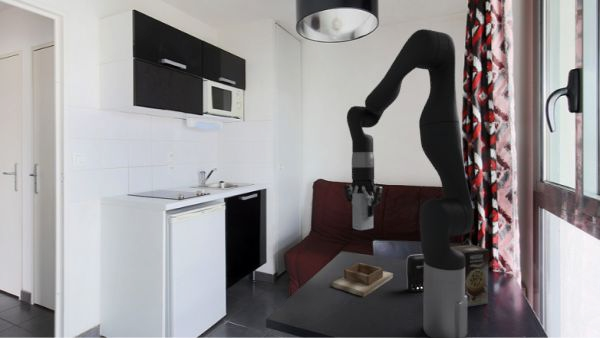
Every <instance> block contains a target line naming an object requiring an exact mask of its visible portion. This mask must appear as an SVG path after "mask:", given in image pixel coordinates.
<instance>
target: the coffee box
mask: <svg viewBox="0 0 600 338" xmlns="http://www.w3.org/2000/svg"><path fill="white" fill-rule="evenodd" d="M450 248H452V249H455V250H458V251H460V252H462V253H463V254H464V256H465V295H466V296H467V308H469V307H475V306H479V305H480V306H481V305H486V304H488V301H489V300H488V299H489V296H488V295H489V294H488V293H489V256H490V255H489V253H490V250H489V249H487V248H485V247H481V246H478V245H474V244H465V245H464V244H463V245H455V246H453V245H452V246H450Z"/></svg>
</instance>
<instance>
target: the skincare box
mask: <svg viewBox="0 0 600 338" xmlns="http://www.w3.org/2000/svg"><path fill="white" fill-rule="evenodd" d="M352 194H353V212H352V228H353V229H354V230H357V231H364V230H371V229H374V215H373V216H372V217H368V206H369V205H368V202H367V200H366V198H365V195H364V194H363V193H354V192H352ZM369 196H371V194H370V195H369Z"/></svg>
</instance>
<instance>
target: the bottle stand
mask: <svg viewBox="0 0 600 338" xmlns="http://www.w3.org/2000/svg"><path fill="white" fill-rule="evenodd" d="M393 278H394V273H392V272H389V271H385V270H384V268H382V267H378V266H375V265H370V264H366V263H361V262H357V263H355V264H353V265H351V266H349V267H347V268H345V269H343V276H342V277H340V278H338V279H336V280H333V281H332V284H331V285H332V286H331V287H333V288H334V289H339V290H342V291H345V292H348V293H350V294H354V295H357V296H360V297H363V298H365V297H366V296H368V295H369V294H370V293H372V292H373V291H375V290H376V289H378V288H379V287H381V286H382V285H384V284H386V283H387V282H389V281H391V280H392V279H393Z"/></svg>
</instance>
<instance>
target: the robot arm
mask: <svg viewBox="0 0 600 338" xmlns="http://www.w3.org/2000/svg"><path fill="white" fill-rule="evenodd" d="M415 69H420V70H427V71H428V75H429V85H430V86H429V87H430V88H429V93H428V97H427V100H426V102H425V104H424V106H423V109H422V111H421V113H420V116H419V121H418V122H419V123H418V124H419V125H418V128H419V136H420V146H421V148H422V152H423V153H424V154H425V156H426V158H427V159H428V161H429V162H430V164H431V165H432V167H433V168H434V170H435V171H436V173H437V175H438V176H439V179H440V182H441V188H442V197H439V198H429V199H427V200H425V201H424V202H423V204H422V205H421V208H420V211H419V230H420V231H419V232H420V233H419V234H420V247H421V251H422V254H423V255H424V291H423V320H422V322H423V332H424V333H425V335H426V336H428V337H430V338H466V337H467V335H468V307H467V296H466V295H465V256H464V254H463V253H462V252H460V251H458V250H455V249H452V248H450V247H451V244H450V243H451V242H450V237H455V236H456V237H457V236H463V235H464V236H465V235H466V234H468V233H470V231H471V230H472V228H473V225H474V219H475V215H474V208H473V202H472V198H471V194H470V190H469V184H468V180H467V176H466V169H465V162H464V155H463V145H462V134H461V132H462V131H461V125H460V117H459V111H458V101H457V100H458V99H457V88H456V46H455V41H454V39H453V37H452V36H450V35H449V34H447V33H445V32H442V31H435V30H432V29H426V28H425V29H424V28H422V29H417V30H416V31H414V32H413V33H412V34H411V35H410V37H408V39H407V40H406V42H404V44H403V46H402V47H401V49H400V50H399V52H398V54H397V56H396V57H395V59H394V60H393V62H392V63H391V65H390V67H389V68H388V70H387V72H386V74H385V75H384V77H383V78H381V81H380V82H378V84H377V85H376V86H375V87H374V88H373V89H372V91H371V92H370V93H369V94H368V95H367V96H366V97H365V100H364V106H363V105H362V106H360V105H354V106H352V107H350V108H349V109H348V111H347V112H346V113H347V115H346V122H347V126H348V129H349V130H348V131H349V134H350V137H351V144H352V147H351V149H352V150H351V153H352V154H351V181H352V182H351V184H345V185H344V191H345V196H346V197H345V198H346V201H347V202H349V203H351V206H352V207H351V208H352V213H353V193H363V194H364V195H365V198H366V200H367V202H368V205H369V206H368V217H372V216H373V217H374V216H375V206H376V205H378V204H380V203H381V198H382V194H383V189H384V187H383V186H382V185H381V186H378V185H376V183H375V155H374V137H373V136H372V135H371V134H367V133H365V132H364V129H365V128H366V129H367V128H369V129H370V128H373V127H376V125H377V124H379V121H380V119H381V118H382V116H383V114H384V112H385V110H387V109H388V108H389V107H390V106H391V105H392V104H393V103H394V102H395V101H396V100H397V98H398V96H399V94H400V93H401V88H402V84H403V80H404V79H405V77H407V75H408V74H409V73H411V72H412V71H414V70H415ZM363 128H364V129H363ZM373 191H374V193H373ZM370 194H371V196H369V195H370Z"/></svg>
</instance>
